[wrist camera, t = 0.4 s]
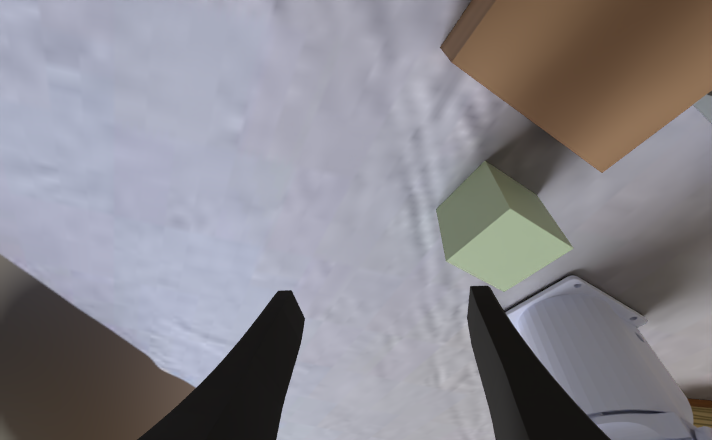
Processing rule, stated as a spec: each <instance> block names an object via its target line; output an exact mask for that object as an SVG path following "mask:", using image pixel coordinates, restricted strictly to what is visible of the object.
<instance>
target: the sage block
mask: <svg viewBox="0 0 712 440" xmlns="http://www.w3.org/2000/svg"><path fill="white" fill-rule="evenodd" d="M436 212H437V217H438V222H439V227H440V232H441V238H442V243H443V248H444V253H445V258H446V261H447V262H448V263H450V264H452V265H454V266H456V267H458V268H460V269H462V270H464V271H465V272H467V273H469V274H471V275H473V276H475V277H477V278H479V279H481V280H482V281H484V282H486V283H488V284H490V285H492V286H494V287H496V288H498V289H500V290H501V291H503V292H505V291H506V290H508V289H510V288H511V287H513V286H514V285H516V284H518V283H519V282H521V281H522V280H524V279H526V278H527V277H529V276H530V275H532V274H534V273H535V272H537V271H538V270H540V269H542V268H543V267H545V266H546V265H548V264H550V263H551V262H553V261H554V260H556V259H558V258H559V257H561V256H562V255H564V254H566V253H567V252H569V251H570V250H572V249H574V248H573V247H572V245H571V244H570V242H569V241H568V240H567V238H566V237H565V235H564V234H563V232H562V231H561V229H560V228H559V227H558V225H557V224H556V222H555V221H554V219H553V218H552V216H551V215H550V213H549V212H548V211H547V209H546V208H545V206H544V205H543V203H542V202H541V200H540V199H539V198H538V196H537V195H536V194H534V193H533V192H531V191H530V190H528V189H527V188H525V187H524V186H522V185H521V184H519V183H518V182H516V181H515V180H513V179H512V178H510V177H509V176H507V175H506V174H504V173H503V172H501V171H500V170H498V169H497V168H495V167H494V166H492V165H491V164H489V163H488V162H486V161H484V162H483V163H482V164H481V165H480V166H479V167H478V168H477V169H476V170H475V171H474V172H473V173H472V174H471V175H470V176H469V177H468V178H467V179H466V180H465V181H464V182H463V183H462V184H461V185H460V186H459V187H458V188H457V189H456V190H455V191H454V192H453V193H452V194H451V195H450V196H449V197H448V198H447V199H446V200H445V201H444V202H443V203H442V204H441V205H440V206H439V207H438V208H437V209H436Z"/></svg>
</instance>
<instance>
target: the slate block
mask: <svg viewBox="0 0 712 440" xmlns="http://www.w3.org/2000/svg"><path fill="white" fill-rule="evenodd" d="M693 106H694V107H695V108H696V109H697V110H698V111H699V112H700V113H701V114H702V115H703V116H704V117H705V118H706V119H707V120H708V121H709V122H710V123H711V124H712V91H710V92H709V93H708V94H706V95H705V96H704V97H702V98H701V99H700V100H698V101H697V102H696V103H694V104H693Z"/></svg>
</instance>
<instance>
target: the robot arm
mask: <svg viewBox="0 0 712 440" xmlns="http://www.w3.org/2000/svg"><path fill="white" fill-rule="evenodd" d="M467 320H468V326H469V332H470V338H471V344H472V348H473V352H474V355H475V359H476V363H477V366H478V370H479V373H480V377H481V381H482V384H483V388H484V391H485V395H486V399H487V402H488V406H489V410H490V414H491V418H492V423H493V428H494V433H495V438H496V440H712V428H710V427H707V426H703V427H699V428H697V427H696V426H694V425H693V413H692V409H691V406H690V403H689V401H688V399H687V398H686V396H685V394H684V393H683V392H682V390H681V389H680V387H679V386H678V385H677V383H676V382H675V380H674V379H673V378H672V376H671V375H670V373H669V372H668V371H667V369H666V368H665V366H664V365H663V364H662V362H661V361H660V359H659V358H658V357H657V355H656V354H655V352H654V351H653V350H652V348H651V347H650V345H649V344H648V343H647V341H646V340H645V338H644V337H643V336H642V334H641V333H640V331H639V330H638V329H637V327H640V326H642V325H645V324H646V323H647V322H648V320H647V319H646V318H645V317H644V316H643V315H641V314H639V313H638V312H636V311H634V310H633V309H631V308H629V307H628V306H626V305H624V304H623V303H621V302H619V301H618V300H616V299H614V298H612V297H611V296H609V295H607V294H606V293H604V292H602V291H601V290H599V289H597V288H596V287H594V286H592V285H591V284H589V283H587V282H586V281H584V280H582V279H581V278H579V277H577V276H568V277H566V278H564V279H563V280H561V281H559V282H557V283H556V284H554V285H552V286H550V287H549V288H547V289H545V290H543V291H542V292H540V293H538V294H536V295H535V296H533V297H531V298H529V299H528V300H526V301H524V302H522V303H521V304H519V305H517V306H515V307H514V308H512V309H510V310H509V311H507V312H504V310H503V309H502V307H501V305H500V304H499V302H498V300H497V299H496V297H495V295H494V294H493V292H492V290H491V288H490V287H488V286H470V295H469V305H468V315H467ZM304 321H305V318H304V316H303V314H302V311H301V309H300V307H299V305H298V303H297V301H296V299H295V297H294V295H293V292H292V290H289V291H278V292H277V293H276V294H275V295H274V297H273V298H272V299H271V301H270V302H269V303H268V305H267V306H266V307H265V309H264V310H263V311H262V313H261V314H260V315H259V317H258V318H257V319H256V320H255V322H254V323H253V324H252V326H251V327H250V328H249V329H248V331H247V332H246V333H245V334H244V336H243V337H242V338H241V339H240V341H239V342H238V343H237V344H236V345H235V347H234V348H233V349H232V350H231V351H230V352H229V354H228V355H227V356H226V357H225V358H224V359H223V360H222V362H221V363H220V364H219V365H218V366H217V367H216V368H215V369H214V370H213V371H212V372H211V373H210V374H209V375H208V377H207V378H206V379H205V380H204V381H203V382H202V383H201V384H200V385H199V386H198V387H197V388H196V389H194V390H193V391H192V393H190V394H189V395H188V396H187V397H186V398H185V399H184V400H183V401H182V402H181V403H180V404H179V405H178V406H176V407H175V408H174V409H173V410H172V411H171V412H170V413H169V414H167V415H166V416H165V417H164V418H163V419H162V420H160V421H159V422H158V423H157V424H156V425H155V426H153V427H152V428H151V429H150V430H149V431H147V432H146V433H145V434H144V435H143V436H141V437H140V438H139V439H138V440H276V438H277V433H278V428H279V423H280V418H281V412H282V408H283V404H284V400H285V396H286V393H287V389H288V386H289V382H290V379H291V376H292V372H293V369H294V365H295V362H296V358H297V355H298V351H299V348H300V344H301V340H302V334H303V328H304Z"/></svg>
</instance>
